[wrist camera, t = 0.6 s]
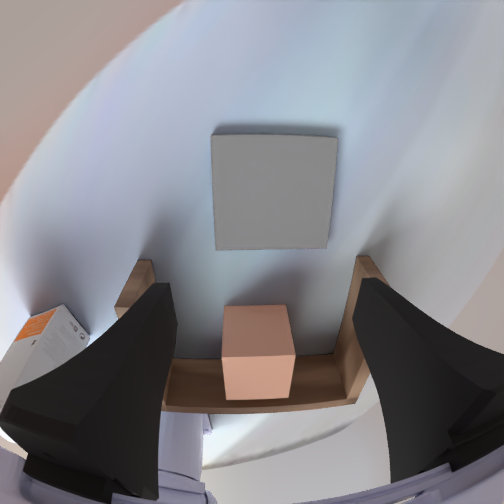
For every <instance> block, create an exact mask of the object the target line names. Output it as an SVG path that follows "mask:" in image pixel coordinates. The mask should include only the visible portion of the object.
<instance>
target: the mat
mask: <svg viewBox="0 0 504 504" xmlns="http://www.w3.org/2000/svg"><path fill="white" fill-rule="evenodd" d="M337 145H338V138H336V137H329V136H314V135H293V134H214V135H211V163H212V188H213V209H214V228H215V245H216V250H259V249H321V248H327V242H328V234H329V226H330V218H331V209H332V200H333V191H334V181H335V170H336V158H337Z"/></svg>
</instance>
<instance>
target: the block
mask: <svg viewBox="0 0 504 504" xmlns="http://www.w3.org/2000/svg"><path fill="white" fill-rule="evenodd" d="M295 356H296V354H295V349H294V343H293V338H292V333H291V328H290V323H289V318H288V313H287V308H286V304H285V305H252V306H224V317H223V338H222V365H223V374H224V383H225V392H226V400H251V399H275V398H288V397H289V391H290V385H291V380H292V374H293V368H294V362H295Z"/></svg>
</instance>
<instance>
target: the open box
mask: <svg viewBox="0 0 504 504" xmlns="http://www.w3.org/2000/svg"><path fill="white" fill-rule="evenodd" d="M372 277H376V278H378V279H380V280H381V281H383V282H384V283H385V284H387V285H388V286H389V284H388V283H387V281H386V280H385V278H384V277H383V275H382V274H381V272H380V271H379V269H378V268H377V266H376V265H375V263H374V262H373V261H372V259H371V258H370V256H357V257H356V262H355V267H354V272H353V276H352V281H351V286H350V290H349V294H348V299H347V303H346V307H345V311H344V315H343V319H342V323H341V327H340V331H339V335H338V338H337V342H336V346H335V349H334V353H333V354H325V355H313V356H300V357H295V362H294V368H293V374H292V380H291V385H290V391H289V397H288V398H275V399H251V400H226V392H225V383H224V374H223V365H222V359H176V358H174V357H172V361H171V365H170V369H169V374H168V378H167V382H166V386H165V391H164V395H163V401H162V407H161V411H165V412H179V413H200V414H255V413H276V412H290V411H301V410H311V409H320V408H328V407H336V406H343V405H349V404H355V403H356V401H357V399H358V397H359V395H360V393H361V391H362V389H363V387H364V385H365V382H366V380H367V378H368V376H369V374H370V370H369V368H368V365H367V363H366V360H365V358H364V355H363V353H362V350H361V348H360V345H359V343H358V340H357V336H356V333H355V329H354V325H353V321H352V316H353V312H354V309H355V305H356V301H357V297H358V293H359V289H360V285H361V281H362V278H372ZM153 283H156V282H155V277H154V272H153V266H152V261H151V260H138V261H137V263H136V264H135V266H134V268H133V270H132V272H131V274H130V276H129V278H128V280H127V282H126V284H125V286H124V288H123V290H122V292H121V294H120V296H119V298H118V300H117V302H116V304H115V307H114V308H115V311H116V314H117V317H118V319H119V318H121V317H122V316H123V314H124V313H125V312H126V311H127V310H128V309H129V308H130V307H131V306H132V305H133V304H134V303H135V302H136V301H137V300H138V299H139V298H140V297H141V295H142V294H143V293H144V292H145V291H146V290H147V289H148V288H149V287H150V286H151V285H152V284H153ZM389 287H390V286H389Z"/></svg>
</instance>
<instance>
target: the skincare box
mask: <svg viewBox="0 0 504 504" xmlns="http://www.w3.org/2000/svg"><path fill="white" fill-rule="evenodd" d="M89 340H90V336H89V335H88V334H87V333H86V331H85V330H84V329H83V328H82V327H81V325H80V324H79V323H78V322H77V320H76V319H75V318H74V317H73V316H72V314H71V313H70V312H69V310H68V309H67V308H66V306H65V305H63V304H62V305H60V306H58V307H55V308H53V309H50V310H48V311H46V312H43V313H40V314H37V315H35V316H32V317H30V318H29V319H28V320H27V322H26V323H25V325H24V326H23V328H22V329H21V331H20V332H19V334H18V335H17V337H16V338H15V340H14V341H13V343H12V344H11V346H10V348H9V349H8V351H7V352H6V354H5V356H4V357H3V359H2V361H1V362H0V413H1V411H2V408H3V406H4V404H5V402H6V400H7V397H8V395H9V393H10V391H11V389H14V388H16V387H19V386H21V385H23V384H26V383H28V382H30V381H32V380H35V379H37V378H39V377H41V376H43V375H45V374H46V373H48V372H50V371H52V370H54V369H55V368H57V367H59V366H60V365H62V364H64V363H65V362H67V361H68V360H69V359H71V358H72V357H74V356H75V355H77V354H78V353H80V352H81V351H83V350H84V349H85V348H86V346H87V344H88V342H89ZM0 435H1V436H2V437H3V438H5V439H6V440H7V441H9V442H12V443H16V442H14V441H13V440H12V439H11V438H10V437H9V436H8V435H7V434H6V433H5V432H4V431H3V430H2V429H1V427H0ZM16 444H17V443H16Z"/></svg>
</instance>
